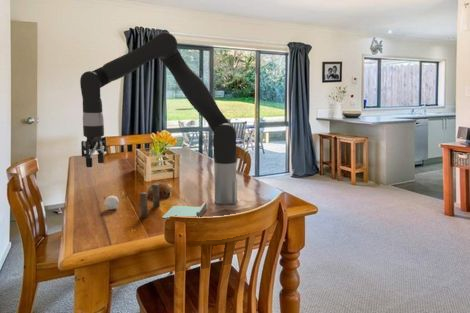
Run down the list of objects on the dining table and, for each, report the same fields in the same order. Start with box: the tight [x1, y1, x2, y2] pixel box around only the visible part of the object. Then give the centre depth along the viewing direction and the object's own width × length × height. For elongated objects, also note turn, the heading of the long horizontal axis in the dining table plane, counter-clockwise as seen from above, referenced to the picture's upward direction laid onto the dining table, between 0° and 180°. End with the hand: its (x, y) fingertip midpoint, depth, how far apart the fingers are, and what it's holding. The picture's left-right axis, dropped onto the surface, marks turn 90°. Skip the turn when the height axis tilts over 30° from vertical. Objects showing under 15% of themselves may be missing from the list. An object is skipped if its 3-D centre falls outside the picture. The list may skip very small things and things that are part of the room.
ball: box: [104, 195, 120, 211], centre depth 141 cm, size 6×6×6 cm
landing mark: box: [161, 205, 208, 219], centre depth 137 cm, size 14×14×1 cm
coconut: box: [146, 181, 172, 200], centre depth 160 cm, size 10×10×8 cm
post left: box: [139, 191, 149, 219], centre depth 132 cm, size 3×3×9 cm
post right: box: [151, 183, 161, 208], centre depth 144 cm, size 3×3×9 cm
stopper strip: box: [196, 202, 207, 217], centre depth 136 cm, size 1×12×2 cm, turn 172°
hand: (95, 165), depth 141 cm, fingers open, 8 cm apart
